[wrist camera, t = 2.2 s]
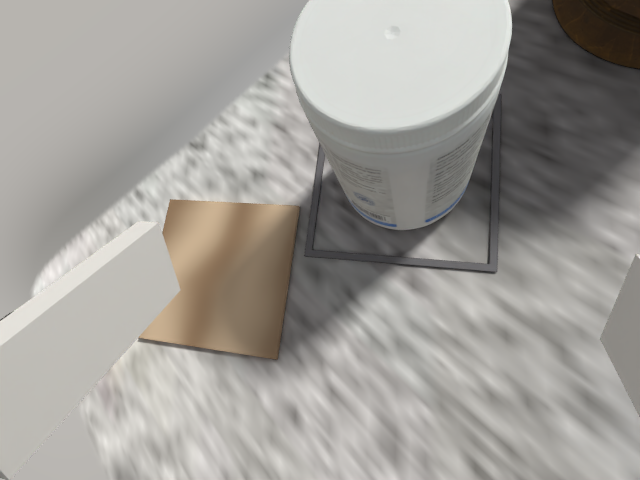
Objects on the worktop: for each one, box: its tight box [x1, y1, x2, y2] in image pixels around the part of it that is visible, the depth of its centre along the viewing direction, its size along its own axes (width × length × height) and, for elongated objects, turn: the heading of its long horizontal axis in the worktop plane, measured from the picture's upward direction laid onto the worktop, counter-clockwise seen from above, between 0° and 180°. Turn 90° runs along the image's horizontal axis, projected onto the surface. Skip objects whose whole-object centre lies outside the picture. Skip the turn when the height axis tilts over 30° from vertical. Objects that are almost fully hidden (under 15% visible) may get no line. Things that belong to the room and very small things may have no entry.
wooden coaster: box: [138, 200, 300, 359], centre depth 31 cm, size 12×12×1 cm
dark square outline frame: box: [304, 94, 501, 272], centre depth 30 cm, size 14×14×1 cm
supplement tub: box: [289, 0, 512, 230], centre depth 23 cm, size 10×10×15 cm
